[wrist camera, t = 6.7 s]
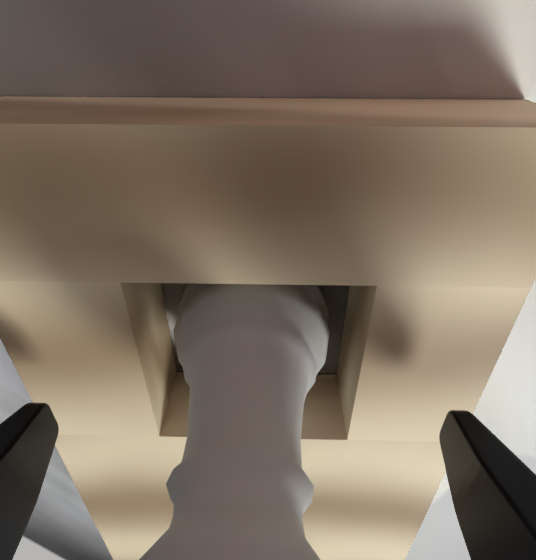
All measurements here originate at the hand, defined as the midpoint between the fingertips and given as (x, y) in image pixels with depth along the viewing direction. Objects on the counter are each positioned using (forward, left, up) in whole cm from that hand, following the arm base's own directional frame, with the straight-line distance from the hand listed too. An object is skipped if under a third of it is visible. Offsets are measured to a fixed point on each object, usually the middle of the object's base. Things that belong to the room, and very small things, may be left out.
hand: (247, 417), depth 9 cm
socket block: (-3, 0, -4) cm, 5 cm away
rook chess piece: (0, 0, -4) cm, 4 cm away
